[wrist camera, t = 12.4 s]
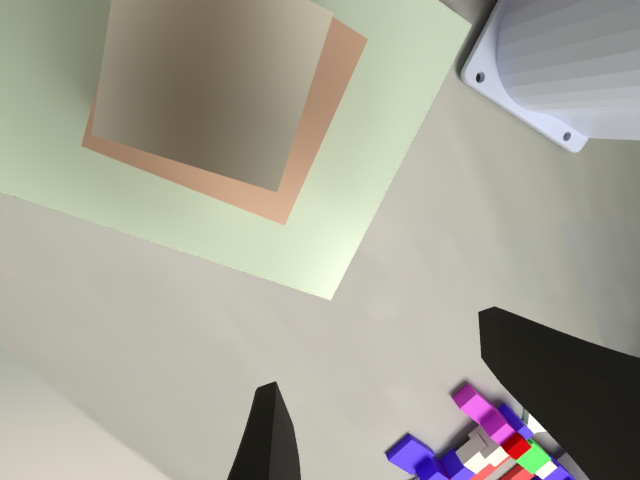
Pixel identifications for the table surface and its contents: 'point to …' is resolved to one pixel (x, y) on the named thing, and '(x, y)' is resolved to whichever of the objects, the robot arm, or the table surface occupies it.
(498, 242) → the table surface
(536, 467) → the building block set
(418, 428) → the table surface
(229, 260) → the base plate
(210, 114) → the top brick
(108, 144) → the base brick
